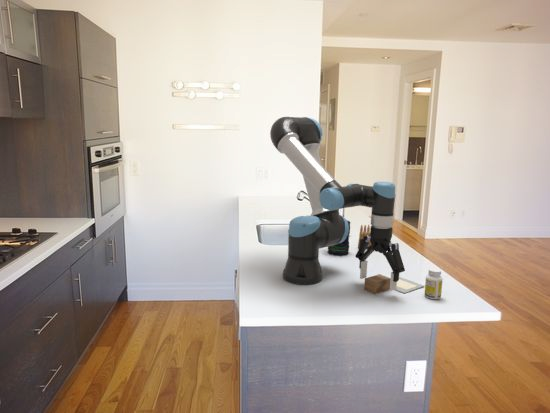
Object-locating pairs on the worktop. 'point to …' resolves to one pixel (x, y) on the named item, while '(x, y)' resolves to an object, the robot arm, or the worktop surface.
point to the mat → (407, 285)
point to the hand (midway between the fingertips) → (377, 283)
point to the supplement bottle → (433, 284)
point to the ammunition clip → (362, 234)
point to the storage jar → (340, 246)
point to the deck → (377, 284)
